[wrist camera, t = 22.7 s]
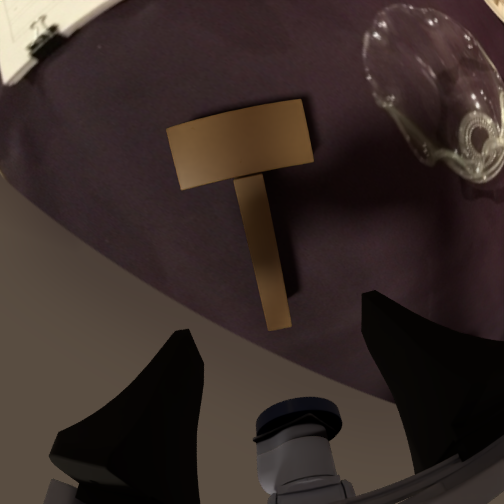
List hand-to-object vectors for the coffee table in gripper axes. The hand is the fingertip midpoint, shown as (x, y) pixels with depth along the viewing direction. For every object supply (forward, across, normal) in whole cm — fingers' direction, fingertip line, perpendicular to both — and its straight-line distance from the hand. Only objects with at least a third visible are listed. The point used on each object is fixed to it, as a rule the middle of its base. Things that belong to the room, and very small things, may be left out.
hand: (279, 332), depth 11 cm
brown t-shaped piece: (+9, 0, -2) cm, 10 cm away
